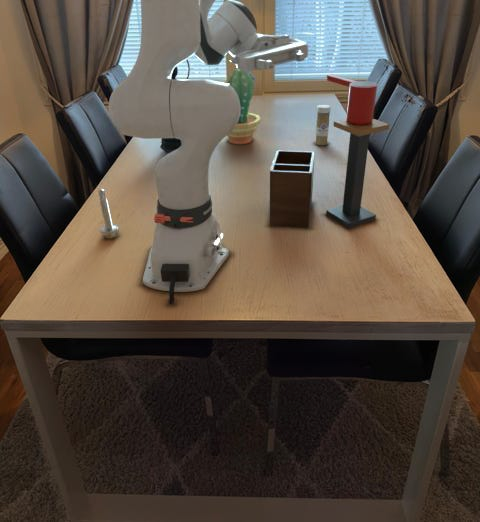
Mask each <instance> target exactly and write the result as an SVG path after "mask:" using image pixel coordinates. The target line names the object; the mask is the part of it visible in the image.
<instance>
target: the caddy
mask: <svg viewBox="0 0 480 522" xmlns="http://www.w3.org/2000/svg"><path fill="white" fill-rule="evenodd" d="M315 154H316V151H313V150H312V151H311V150H283V149H282V150H281V149H276V152H275V154H274V157H273V160H272V164H271V167H270V170H269V226H270V227H283V228H295V229H297V228H298V229H309V228H310V219H311V212H312V204H313V203H312V202H313V188H314V172H315V158H316V157H315V156H316V155H315Z"/></svg>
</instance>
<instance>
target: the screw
mask: <svg viewBox="0 0 480 522" xmlns="http://www.w3.org/2000/svg"><path fill="white" fill-rule="evenodd" d="M105 192H106V191H105V189H103V188H100V189H99V190H98V196H99V205H100V209H101V214H102V218H103V224H104V225H102V226H100V228H99V230H98V231H99V234H101V235H104V236H105V239H113V238H115V237H117V234H116V233H118V232H119V231H120V226H119V225H118V224H116V223H113V221H112V216H111V211H110V206H109V203H108V199H107V198H106V193H105Z"/></svg>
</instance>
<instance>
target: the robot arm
mask: <svg viewBox="0 0 480 522" xmlns="http://www.w3.org/2000/svg"><path fill="white" fill-rule="evenodd" d="M215 2H216V0H140V14H141V15H140V16H141V17H140V18H141V20H140V21H141V26H140V27H141V28H140V29H141V31H140V45H139V51H138V55H137V58H136V60H135V63H134V65H133V67H132V69H131V70H130V72H129V73H128V75H126V77H125V78H124V79H123V80H122V81H121V82H120V83H119V84H118V85H116V86H115V88H114V89H113V91H112V92H111V95H110V97H109V101H108V115H109V118H110V121H111V123H112V125H113V126H114V128H115V129H116V130H117V131H118V132H119V134H120V135H122V136H128V137H132V138H138V139H161V138H176V139H180V140H181V146H180V147H179V148H178V149H176V150H174V151H172V152H170V153H169V154H168V153H166V154H165V155H164V156H162V157H161V158H160V159H159V160H158V162H157V163H156V166H155V170H154V175H155V183H156V189H157V201H156V213H154V215H153V216H154V217H153V222H154V223H155V227H154V233H153V238H152V245H151V246H150V249H149V254H148V257H147V261H146V264H145V269H144V273H143V277H142V284H143V285H144V286H146V287H148V288H150V289H154V290H156V291H157V290H158V291H163V292H168V296H169V297H168V298H169V299H168V303H169V305H172V304H174V302H175V293H188V292H189V293H191V292H196V291H202V290H204V289H205V288H206V287H207V286H208V285H209V283H210V282H211V280H212V279H213V278H214V276H215V275H216V274H217V272H218V271H219V269H220V268H221V267H222V265H223V264H224V263H225V261H226V260H227V259H228V257H229V255H230V253H229V249H227V248H226V247H224V246H223V242H222V240H223V237H224V233H222V232H221V226H220V222H219V221H218V219H217V218H215V217H214V215H213V201H212V196H211V194H210V190H209V169H210V168H209V167H210V162H211V158H212V156H213V153H214V151H215V150H216V147H217V146H218V145H219V144H220V142H222V140H223V139H224V138H226V137H228V136H227V135H228V134H230V133H231V132H232V131H233V129H234V128H235V127H236V125H237V123H238V120H239V117H240V101H239V98H238V95H237V93H236V92H235V90H234V89H233V87H232V86H231V85H230V84H228V83H227V82H223V81H219V80H213V79H208V78H207V79H206V78H204V79H203V78H201V79H188V80H187V79H177V80H173V79H171V74H172V72H173V70H174V68H175V67H176V66H177V67H178V65H179V64H181V63H183V62H185V61H186V59H189V58H191V57H192V56H193V55H195V56H196V57H197V59H198V60H199V61H200V62H201V63H203V64H204V65H206V66H217V65H220V63H221V62H223V60H224V58H225V57H226V55H227V54H228V53H229V55H230V56H231V57H232V58H230V60H229V62H230V63H231V64H234V65H235V67H236V68H237V69H239V70H240V71H242V72H250V73H251V72H253V71H257V70H259V71H266V70H270V69H271V70H272V69H273V68H274V66H278V65H283V64H287V63H290V62H291V63H292V62H295V61H296V62H303V61H305V59H307V58H308V56H309V45H308V43H307V42H306V41H303V40H302V39H301V40H300V39H297V38H294V37H290V35H289V34H272V35H271V34H264V33H263V34H262V33H258V32H257V31H258V25H257V22H256V19H255V17H254V15H253V13H252V12H251V10H250V9H249V8H248V7H247V6H246V5H245V4H244V3H242V2H241V1H238V0H225V1H224V2H223V3H222V4H221V5H220V6H219V7H218V8H217V10H216V11H215V12H214V13H213V14H212V15H211V17H209V13H210V11H211V8H212V7H213V6H214V3H215ZM208 17H209V19H208Z"/></svg>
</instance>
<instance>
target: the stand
mask: <svg viewBox="0 0 480 522" xmlns="http://www.w3.org/2000/svg"><path fill="white" fill-rule="evenodd" d="M333 127H334V128H337V129H339V130H340V131H341V130H342V131H344V132H346V133H349V142H348V152H347V161H346V169H345V170H346V172H345V182H344V191H343V201H342V205H338V206H335V207H332V208H328V209H326V210H325V216H327V217H329V218H330V219H331V220H333V221H335V222H336V223H338V224H340V226H343V227H344V228H346V229H348V230H350V229H353V228H356V227H359V226H362V225H365V224H368V223H370V222H374V221H376V218H377V214H375V213H374V212H371V211H370V210H368V209H366V208H364V207H363V206H362V199H363V191H364V182H365V176H366V175H365V174H366V167H367V158H368V152H369V151H368V150H369V142H370V136H371V134H376V133H379V132H384V131H388V130H389V129H390V124H389V123H387V122H384V121H381V120H378V119H375V118H373V121H372V123H368V124H364V125H360V126H358V125H355V124H352V123H350V122H347V121H346V118H342V119H338V120H334V121H333Z"/></svg>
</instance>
